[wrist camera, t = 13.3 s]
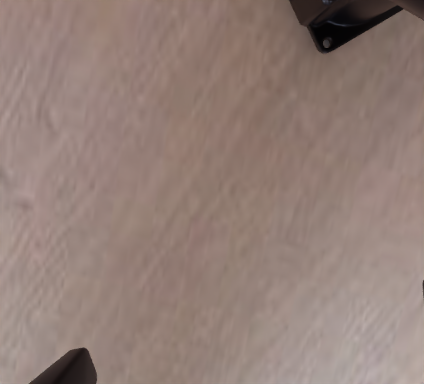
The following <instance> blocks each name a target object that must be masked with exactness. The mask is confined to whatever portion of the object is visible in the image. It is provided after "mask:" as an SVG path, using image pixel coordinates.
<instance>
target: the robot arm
mask: <svg viewBox="0 0 424 384" xmlns="http://www.w3.org/2000/svg"><path fill="white" fill-rule="evenodd" d="M289 1H290V3H291V5H292V8H293V10H294V12H295V14H296V16H297V18H298V21H299V23H300V24H301V25H303V26H307V28H308V30H309V32H310V34H311V37H312V39H313V41H314V43H315V45H316V47H317V49H318V51H319V52H321V53H323V54H326V53H329V52H331V51H333V50H335V49H336V48H338V47H340V46H341V45H343V44H345V43H347V42H348V41H350V40H352V39H353V38H355V37H357V36H358V35H360V34H362V33H364V32H365V31H367V30H369V29H370V28H372V27H374V26H376V25H377V24H379V23H381V22H382V21H384V20H386V19H388V18H389V17H391V16H393V15H394V14H396V13H398V12H400V11H401V10H403V9H405V10H407V11H408V12H410V13H412V14H413V15H415V16H417V17H418V18H420V19H422V20H423V21H424V0H289ZM325 39H326V40H328V41H329V43H330V45H329V47H328V48H325V47H324V46H323V41H324V40H325ZM423 296H424V280H423ZM96 383H97V373H96V370H95V367H94V364H93V362H92V359H91V356H90V354H89V351H88V350H87V349H86V348H84V347H83V348H78V349H73V350H70V351H68V352H67V353H66V354H65V355H64V356H62V357H61V358H60V359H59V360H57V361H56V362H55V363H54V364H52V365H51V366H50V367H49V368H48V369H46V370H45V371H44V372H43V373H41V374H40V375H39V376H38V377H36V378H35V379H34V380H33V381H31V382H30V383H29V384H96Z"/></svg>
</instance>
